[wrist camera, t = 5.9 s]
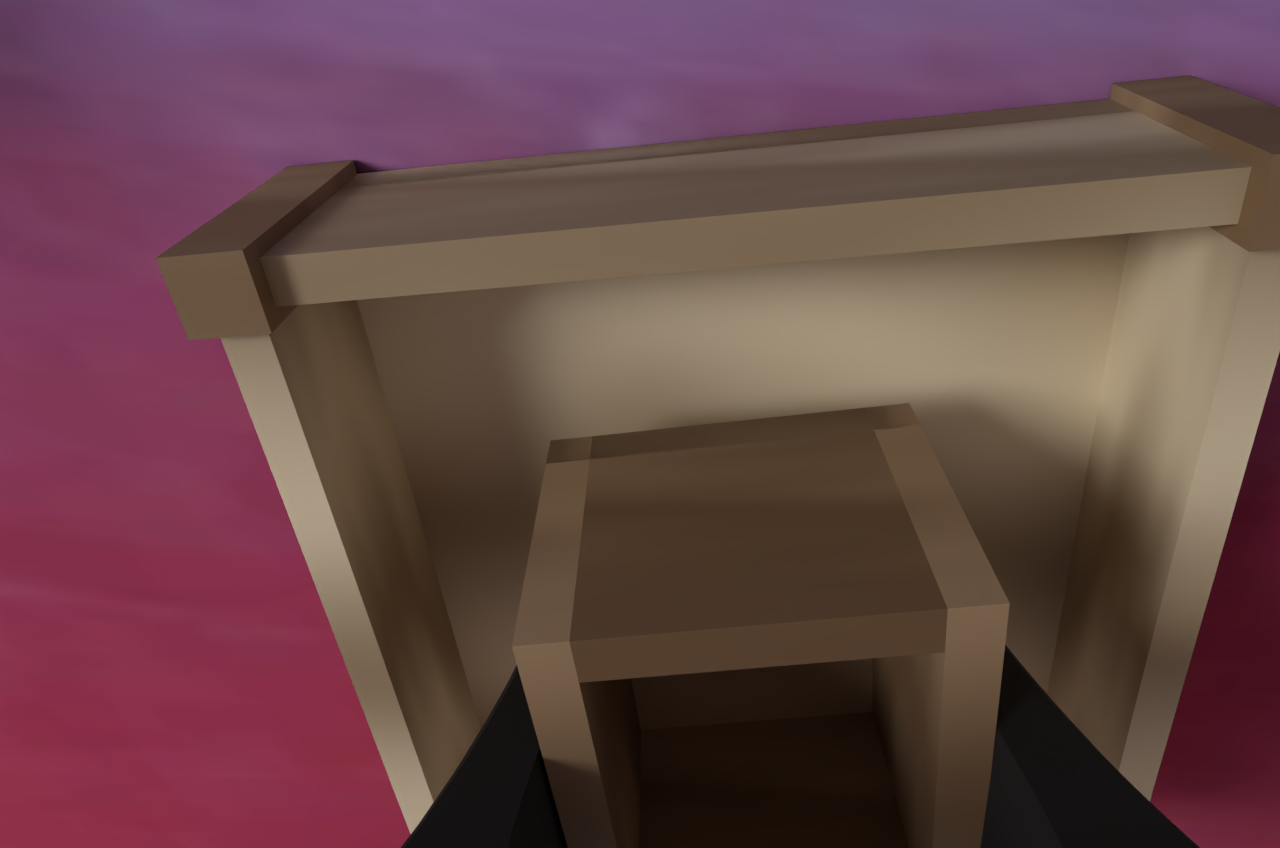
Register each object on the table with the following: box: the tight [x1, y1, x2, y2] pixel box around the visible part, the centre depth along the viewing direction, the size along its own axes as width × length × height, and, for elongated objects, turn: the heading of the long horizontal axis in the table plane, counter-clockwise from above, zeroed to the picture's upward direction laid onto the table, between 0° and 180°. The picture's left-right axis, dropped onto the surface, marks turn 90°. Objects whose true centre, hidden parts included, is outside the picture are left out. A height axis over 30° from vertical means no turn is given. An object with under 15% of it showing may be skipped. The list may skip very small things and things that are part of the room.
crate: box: [156, 76, 1280, 834], centre depth 14 cm, size 14×13×4 cm
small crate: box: [512, 403, 1010, 848], centre depth 12 cm, size 6×5×4 cm
